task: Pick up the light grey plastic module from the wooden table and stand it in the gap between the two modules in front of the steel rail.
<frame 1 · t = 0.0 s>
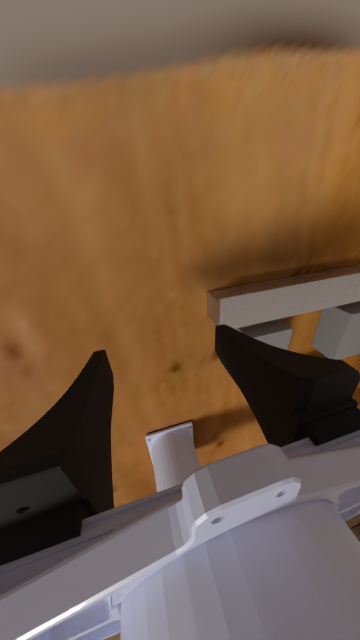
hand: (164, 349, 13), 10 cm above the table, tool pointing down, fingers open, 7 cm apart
din rail: (305, 284, 27), on the table
mounted modules: (293, 331, 30), on the table
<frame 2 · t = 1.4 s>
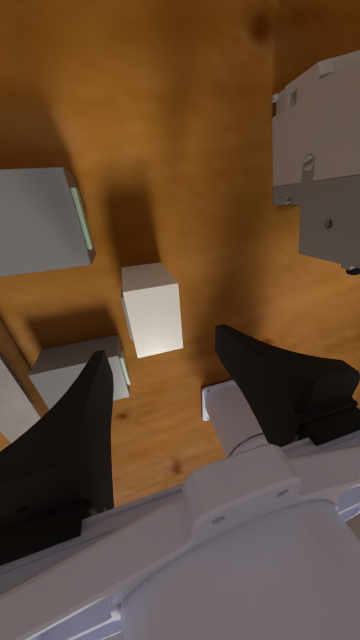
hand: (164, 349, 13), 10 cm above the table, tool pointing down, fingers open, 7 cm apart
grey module: (145, 292, 22), on the table
circuit breaker: (303, 183, 21), on the table
mounted modules: (67, 305, 20), on the table
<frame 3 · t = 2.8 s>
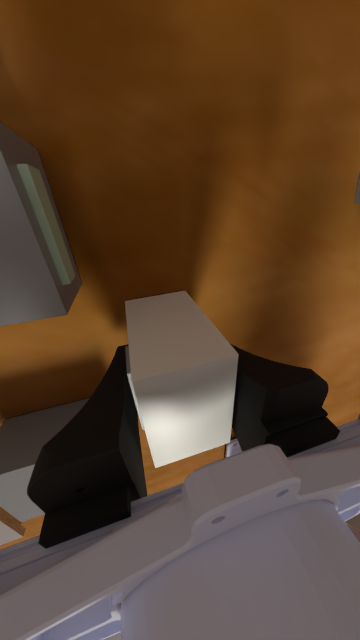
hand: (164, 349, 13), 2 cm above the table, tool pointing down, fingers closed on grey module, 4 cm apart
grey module: (161, 333, 15), on the table, touching gripper
mounted modules: (38, 359, 13), on the table
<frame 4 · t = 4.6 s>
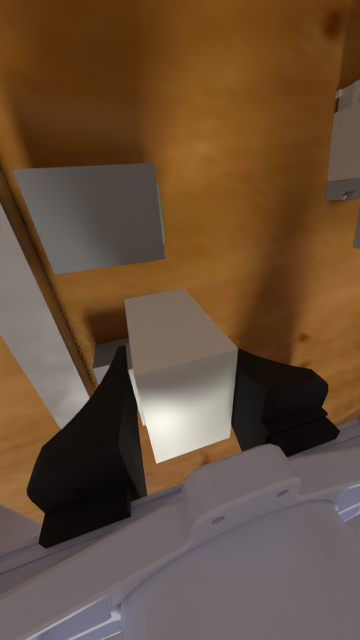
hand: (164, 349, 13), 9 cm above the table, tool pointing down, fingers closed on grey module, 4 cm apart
din rail: (44, 314, 19), on the table
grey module: (160, 331, 15), point 7 cm above the table, touching gripper
circuit breaker: (355, 178, 21), on the table
mounted modules: (124, 300, 20), on the table
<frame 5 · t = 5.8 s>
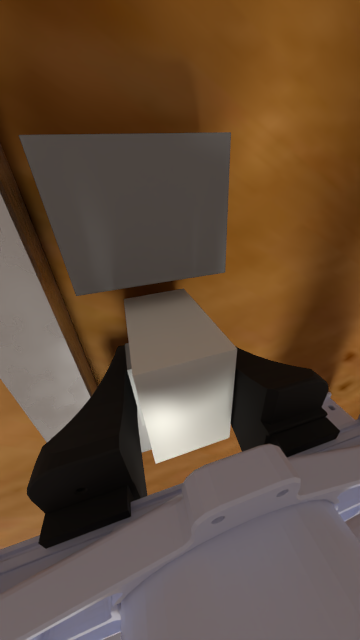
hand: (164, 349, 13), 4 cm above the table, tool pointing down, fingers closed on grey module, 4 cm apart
din rail: (55, 340, 15), on the table
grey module: (160, 331, 15), point 2 cm above the table, touching gripper
mounted modules: (155, 320, 16), on the table
when the fingers open (3 cm above the table, at t = 6.5 s): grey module stays where it is, on the table.
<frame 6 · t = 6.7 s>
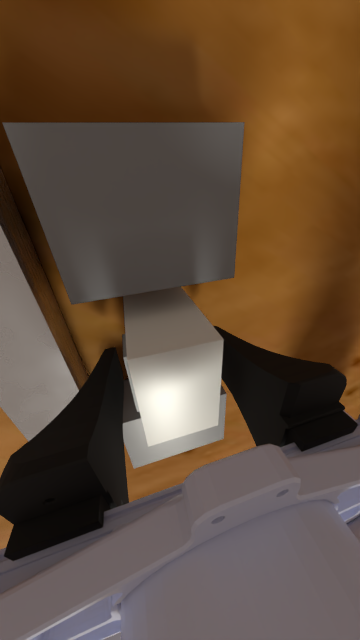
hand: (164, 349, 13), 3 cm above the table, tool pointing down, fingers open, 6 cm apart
din rail: (51, 348, 14), on the table
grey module: (157, 326, 15), on the table
mounted modules: (157, 327, 15), on the table
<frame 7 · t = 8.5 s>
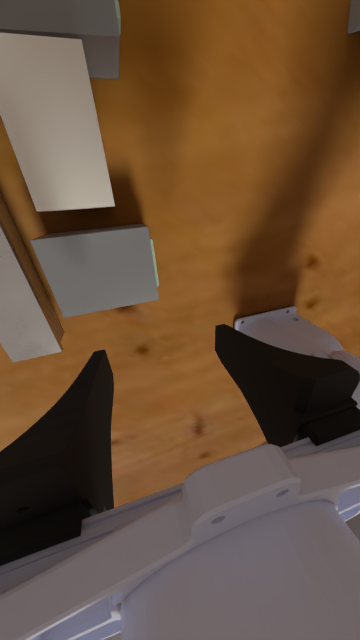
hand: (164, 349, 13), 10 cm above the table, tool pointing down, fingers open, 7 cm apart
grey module: (79, 163, 15), on the table
mounted modules: (79, 164, 15), on the table
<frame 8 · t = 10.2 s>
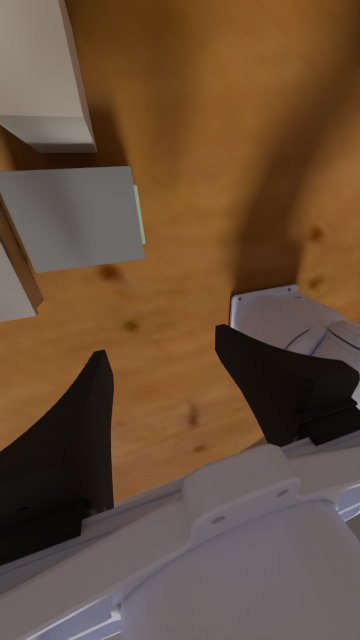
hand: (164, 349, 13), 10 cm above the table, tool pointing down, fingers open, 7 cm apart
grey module: (54, 96, 14), on the table
mounted modules: (54, 96, 14), on the table
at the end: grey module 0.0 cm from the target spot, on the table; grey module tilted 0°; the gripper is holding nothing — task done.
